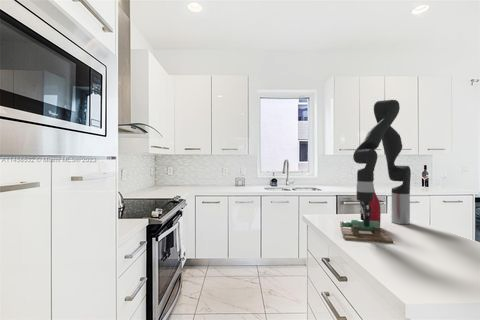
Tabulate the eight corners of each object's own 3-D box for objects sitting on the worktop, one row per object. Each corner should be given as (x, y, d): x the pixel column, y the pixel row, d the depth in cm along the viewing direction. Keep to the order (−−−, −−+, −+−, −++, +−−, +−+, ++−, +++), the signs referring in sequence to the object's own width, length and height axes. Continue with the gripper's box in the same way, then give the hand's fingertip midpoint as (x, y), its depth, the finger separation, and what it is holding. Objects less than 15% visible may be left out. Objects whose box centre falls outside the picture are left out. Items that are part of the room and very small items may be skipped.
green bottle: (377, 230, 132) (377, 220, 132) (380, 233, 127) (380, 222, 127) (340, 228, 136) (340, 218, 136) (341, 230, 131) (341, 220, 131)
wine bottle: (384, 229, 144) (384, 172, 144) (365, 229, 144) (365, 172, 144) (375, 225, 153) (375, 171, 153) (357, 224, 154) (357, 171, 154)
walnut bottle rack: (341, 230, 142) (341, 219, 142) (383, 232, 137) (383, 221, 137) (344, 239, 125) (344, 227, 125) (393, 243, 120) (393, 230, 120)
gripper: (376, 192, 123) (376, 228, 123) (370, 189, 137) (370, 221, 137) (358, 192, 125) (358, 227, 125) (354, 188, 139) (354, 220, 139)
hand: (365, 224), depth 131 cm, fingers open, 8 cm apart
